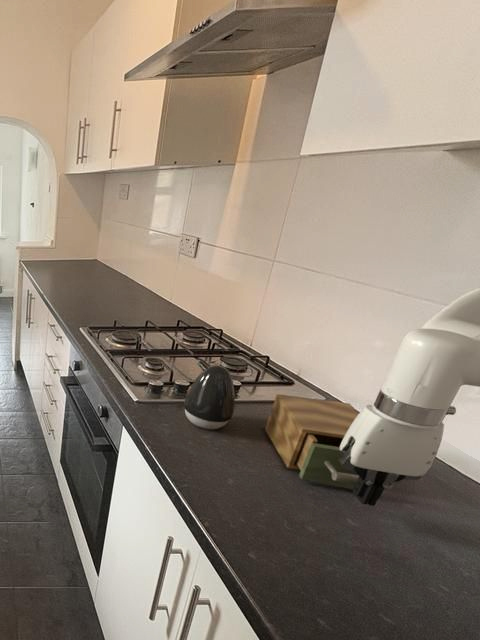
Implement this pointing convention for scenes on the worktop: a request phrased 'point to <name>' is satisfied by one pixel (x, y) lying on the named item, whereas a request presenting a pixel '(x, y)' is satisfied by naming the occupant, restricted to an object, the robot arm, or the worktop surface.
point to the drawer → (324, 462)
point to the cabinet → (305, 423)
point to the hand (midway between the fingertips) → (363, 499)
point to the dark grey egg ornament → (210, 398)
